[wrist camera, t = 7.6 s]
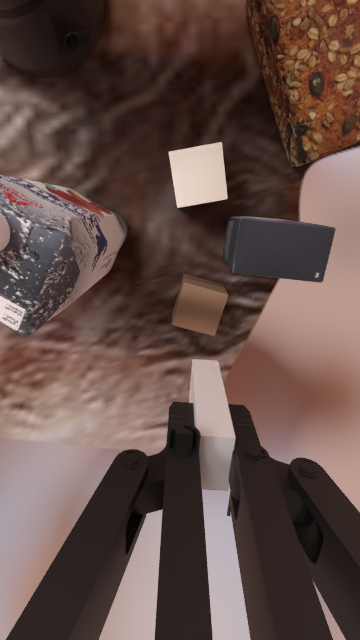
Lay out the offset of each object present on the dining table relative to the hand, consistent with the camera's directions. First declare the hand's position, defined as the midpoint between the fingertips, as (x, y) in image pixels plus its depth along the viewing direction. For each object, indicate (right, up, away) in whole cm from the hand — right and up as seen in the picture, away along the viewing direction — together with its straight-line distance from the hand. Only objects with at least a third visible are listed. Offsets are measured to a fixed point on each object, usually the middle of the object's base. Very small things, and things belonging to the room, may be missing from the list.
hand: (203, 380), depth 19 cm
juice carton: (-14, +16, +26) cm, 33 cm away
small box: (+10, +15, +26) cm, 31 cm away
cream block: (+1, +22, +23) cm, 32 cm away
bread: (+14, +33, +20) cm, 41 cm away
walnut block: (+1, +7, +29) cm, 29 cm away
